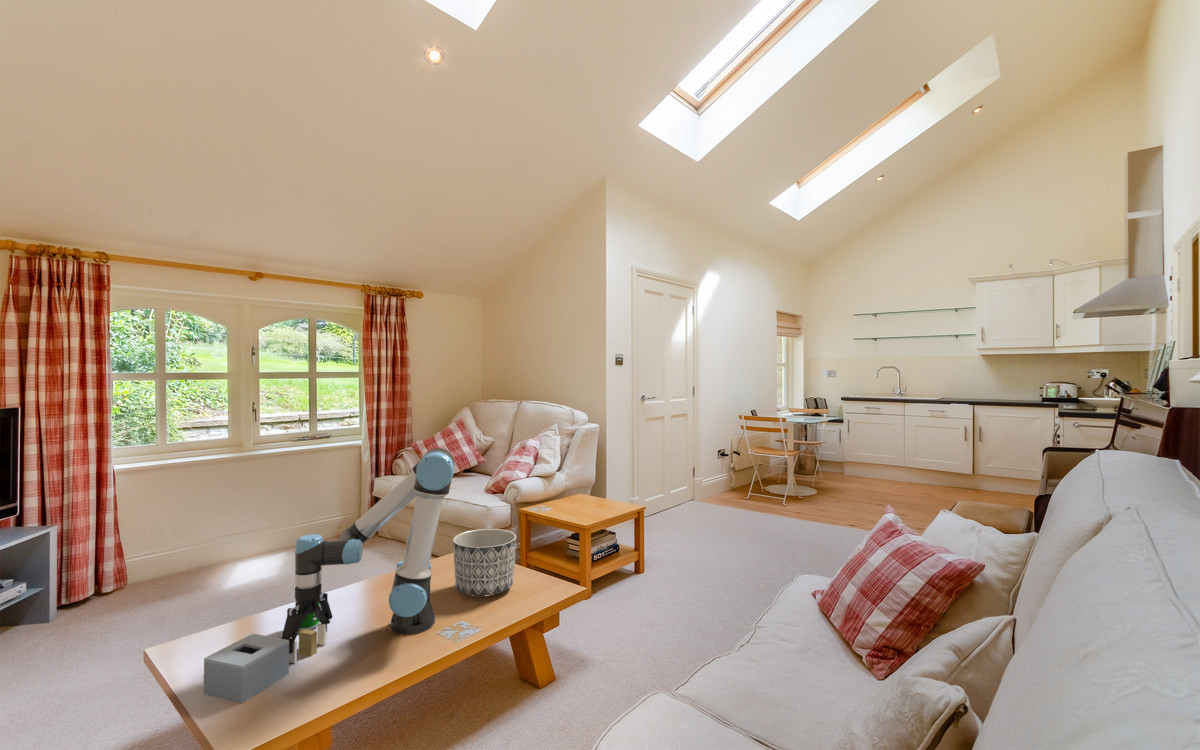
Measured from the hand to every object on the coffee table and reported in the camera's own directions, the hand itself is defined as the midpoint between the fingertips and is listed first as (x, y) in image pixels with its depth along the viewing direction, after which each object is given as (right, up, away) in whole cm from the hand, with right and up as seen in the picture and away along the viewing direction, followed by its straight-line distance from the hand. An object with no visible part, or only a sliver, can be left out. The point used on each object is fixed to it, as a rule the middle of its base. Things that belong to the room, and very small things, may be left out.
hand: (307, 652), depth 170 cm
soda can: (-9, 0, +17) cm, 19 cm away
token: (0, 0, 0) cm, 0 cm away
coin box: (-8, 0, -17) cm, 19 cm away
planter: (+46, -1, +52) cm, 69 cm away
